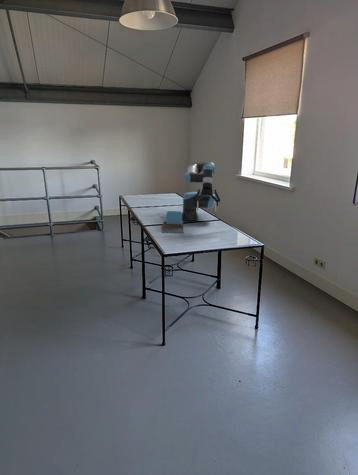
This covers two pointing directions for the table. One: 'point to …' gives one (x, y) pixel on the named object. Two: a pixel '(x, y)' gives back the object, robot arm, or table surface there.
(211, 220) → the table surface
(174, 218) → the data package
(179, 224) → the walnut box
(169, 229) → the charcoal mat
